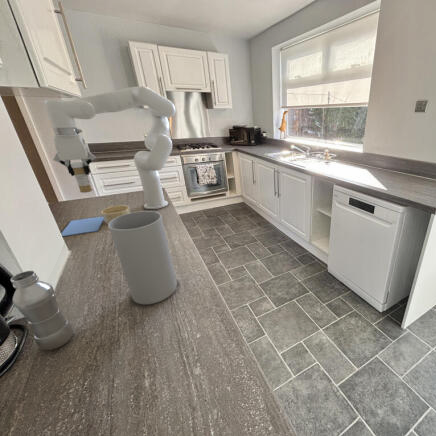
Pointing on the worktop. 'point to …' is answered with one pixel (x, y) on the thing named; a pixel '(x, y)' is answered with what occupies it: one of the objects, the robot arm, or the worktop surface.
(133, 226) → the cylinder vase
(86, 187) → the sprinkles bottle
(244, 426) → the worktop surface
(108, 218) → the bowl
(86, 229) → the cloth
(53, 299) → the plastic bottle
